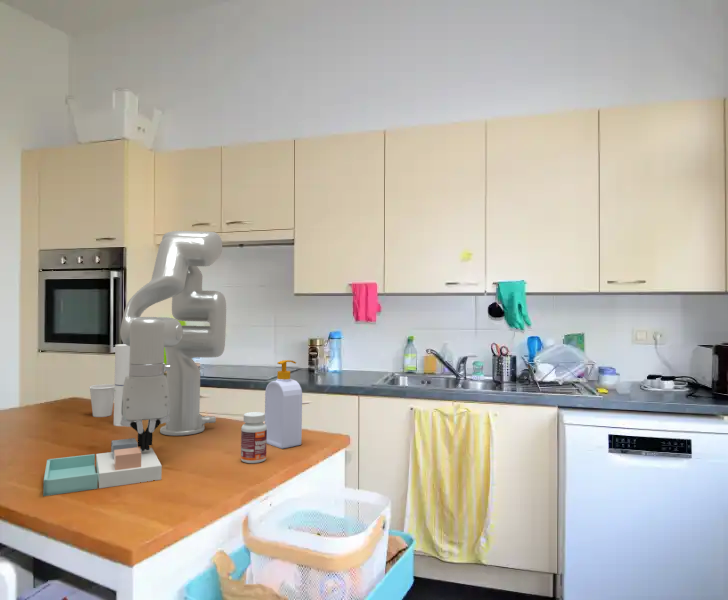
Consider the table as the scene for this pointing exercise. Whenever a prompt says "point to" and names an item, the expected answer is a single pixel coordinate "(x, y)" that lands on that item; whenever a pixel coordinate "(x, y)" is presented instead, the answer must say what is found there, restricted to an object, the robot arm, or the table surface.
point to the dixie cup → (102, 399)
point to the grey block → (123, 444)
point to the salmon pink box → (127, 458)
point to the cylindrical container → (120, 378)
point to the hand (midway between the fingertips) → (144, 448)
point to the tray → (70, 475)
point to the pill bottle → (253, 438)
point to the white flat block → (127, 470)
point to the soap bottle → (283, 410)
